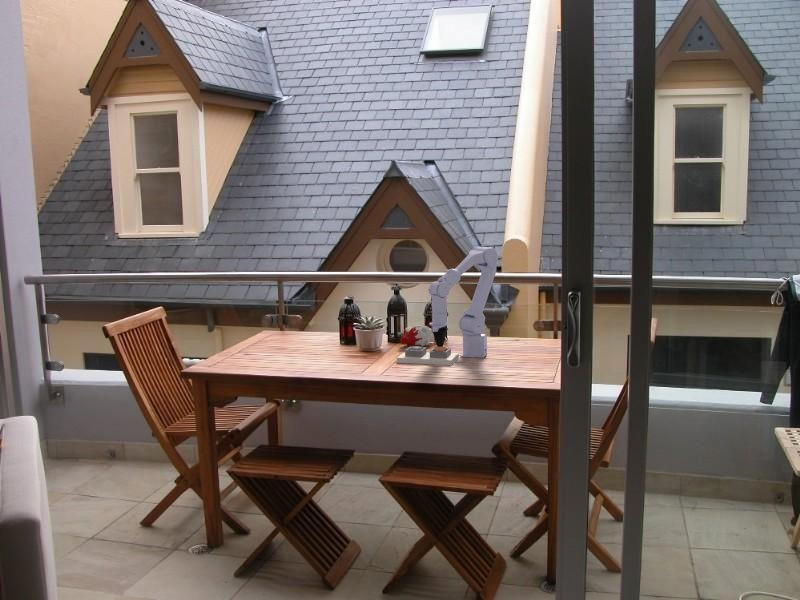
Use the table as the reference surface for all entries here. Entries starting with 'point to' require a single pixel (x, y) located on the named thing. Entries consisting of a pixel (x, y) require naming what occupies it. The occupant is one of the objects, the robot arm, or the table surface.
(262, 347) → the table surface
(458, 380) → the table surface
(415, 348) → the grey low dome
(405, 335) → the white red irregular piece
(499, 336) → the table surface
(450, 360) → the button panel
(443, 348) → the terracotta button
